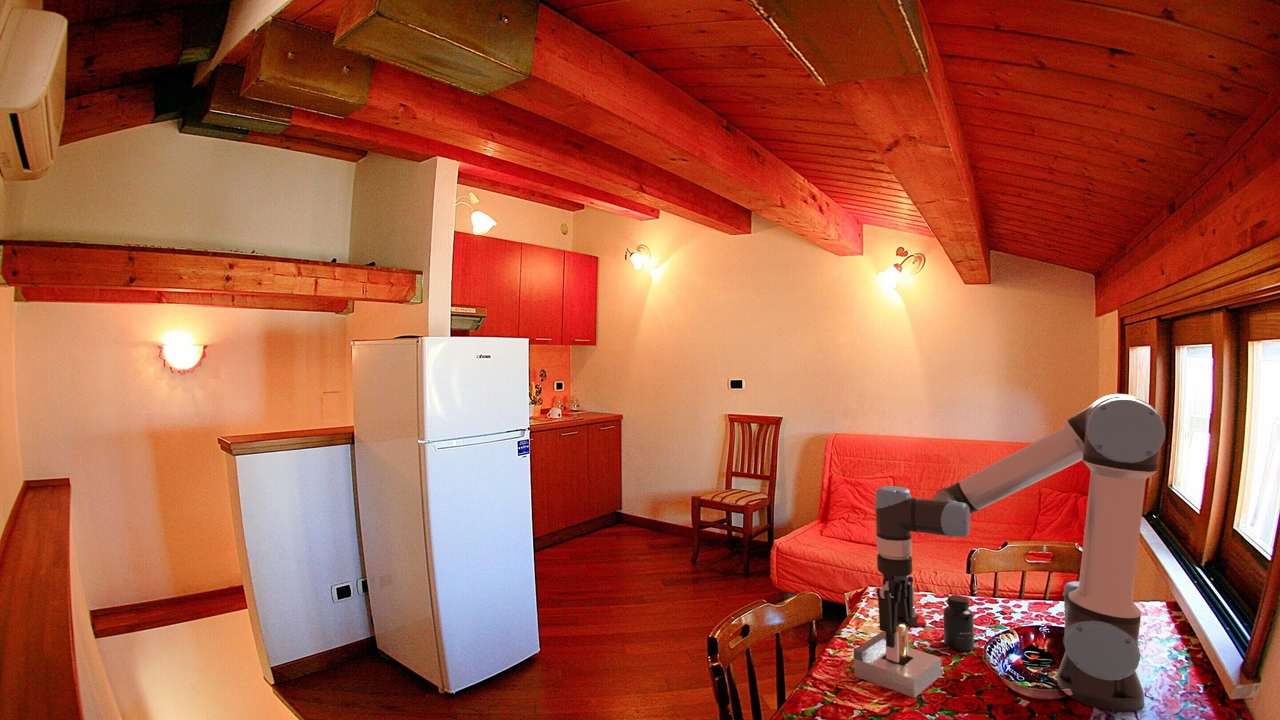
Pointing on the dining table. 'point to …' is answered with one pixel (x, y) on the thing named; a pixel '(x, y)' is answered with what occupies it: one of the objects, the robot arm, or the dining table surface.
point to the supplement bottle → (958, 624)
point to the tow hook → (921, 619)
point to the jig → (895, 667)
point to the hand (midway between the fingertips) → (897, 656)
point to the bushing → (901, 643)
